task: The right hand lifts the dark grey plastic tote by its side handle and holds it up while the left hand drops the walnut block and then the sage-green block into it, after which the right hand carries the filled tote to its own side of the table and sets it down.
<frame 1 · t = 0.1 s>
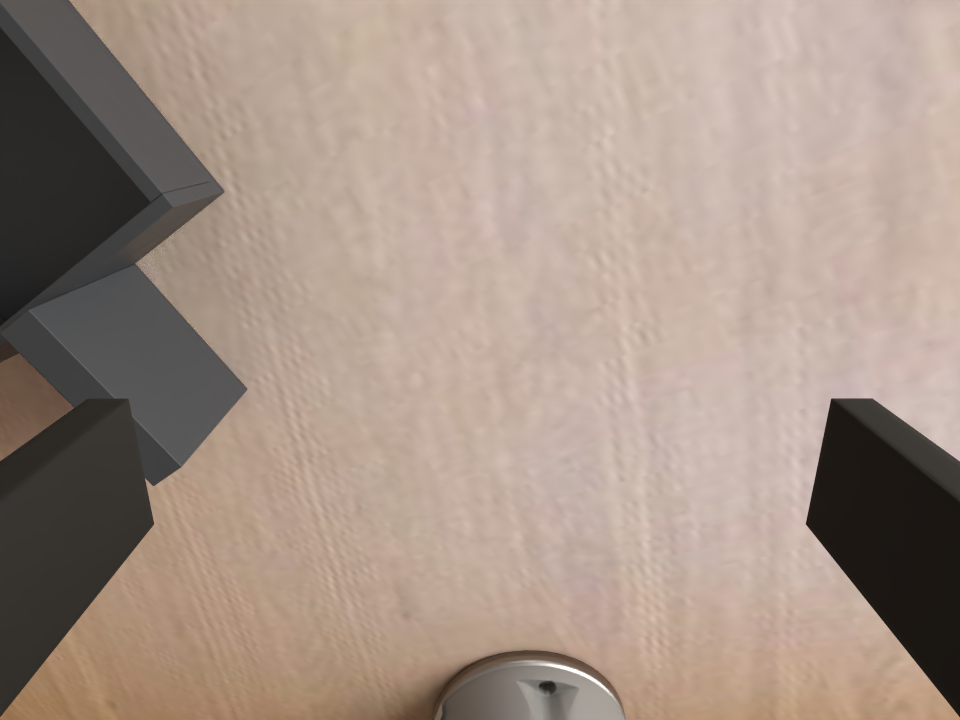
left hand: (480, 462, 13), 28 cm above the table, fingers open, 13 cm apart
tote: (16, 155, 37), on the table
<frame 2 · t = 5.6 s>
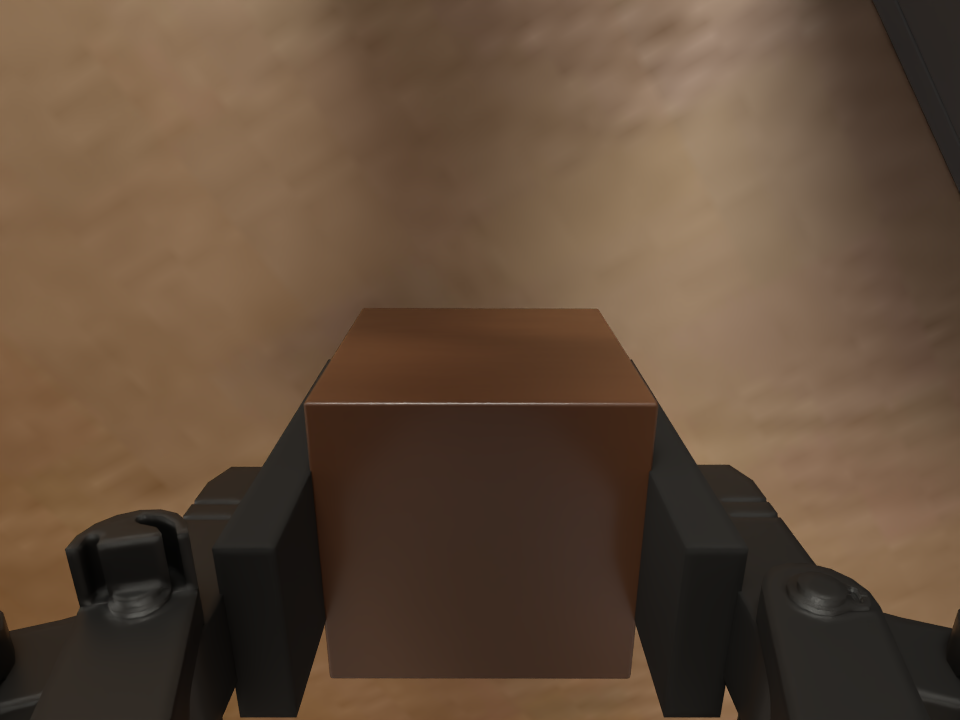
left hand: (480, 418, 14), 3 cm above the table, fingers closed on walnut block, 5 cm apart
walnut block: (480, 415, 15), point 3 cm above the table, touching left hand
when the left hand's fingers open (22 cm above the table, at t = 9.5 s): walnut block drops 8 cm and tips over, resting on tote.
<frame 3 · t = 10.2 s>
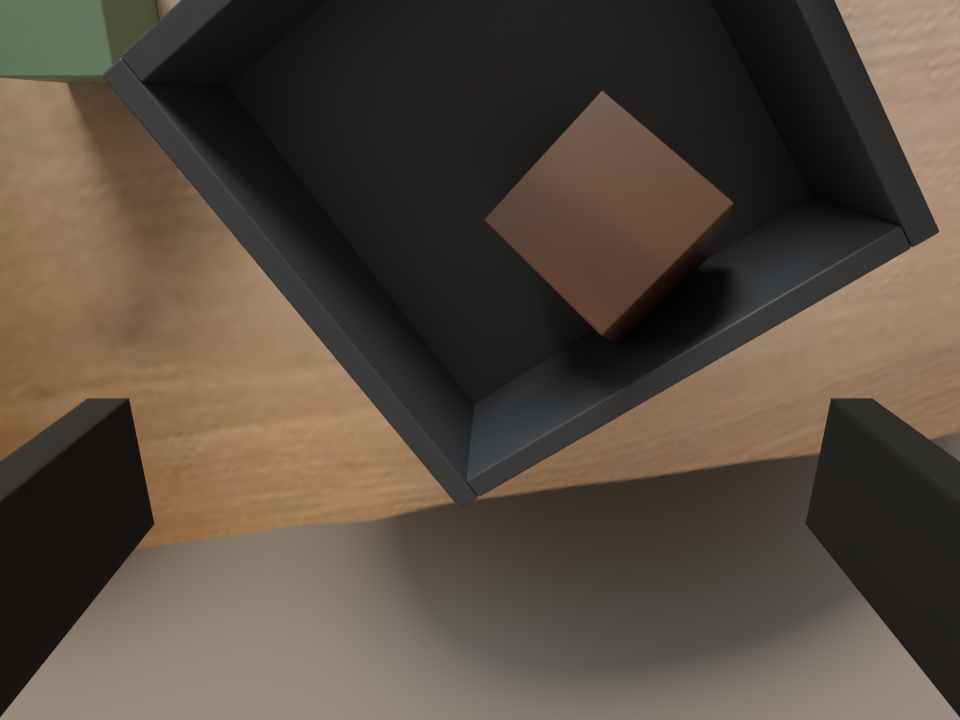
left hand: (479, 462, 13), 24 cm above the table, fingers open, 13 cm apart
walnut block: (556, 288, 22), point 14 cm above the table, tilted 94°, touching tote
green block: (107, 25, 31), on the table
tote: (522, 139, 24), point 9 cm above the table, touching right hand, walnut block
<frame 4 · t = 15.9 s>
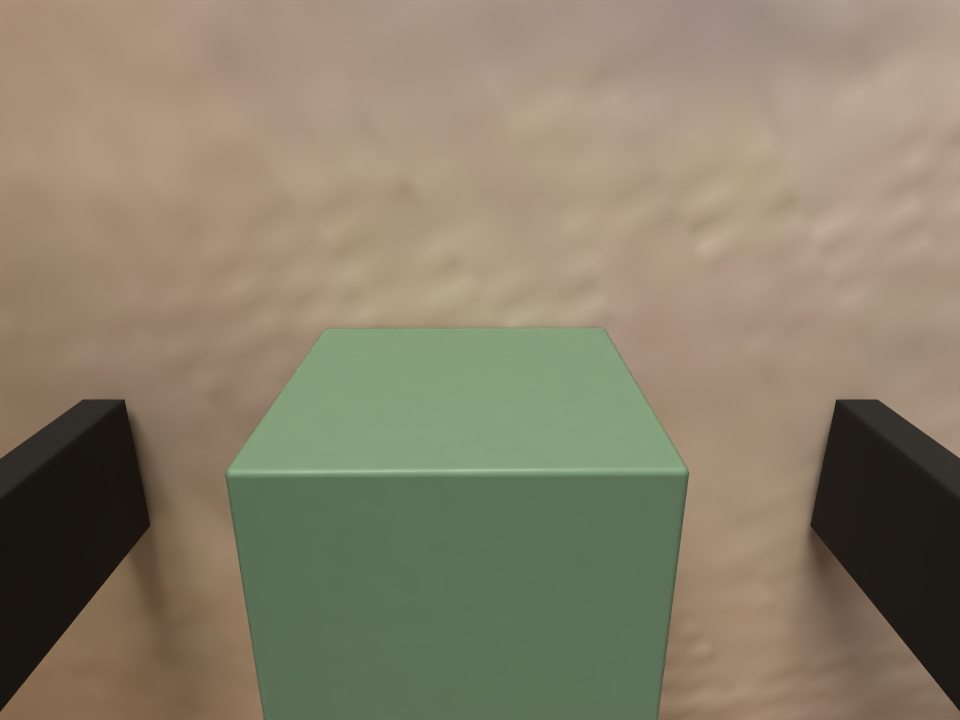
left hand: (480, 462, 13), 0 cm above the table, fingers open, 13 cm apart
green block: (465, 451, 13), on the table
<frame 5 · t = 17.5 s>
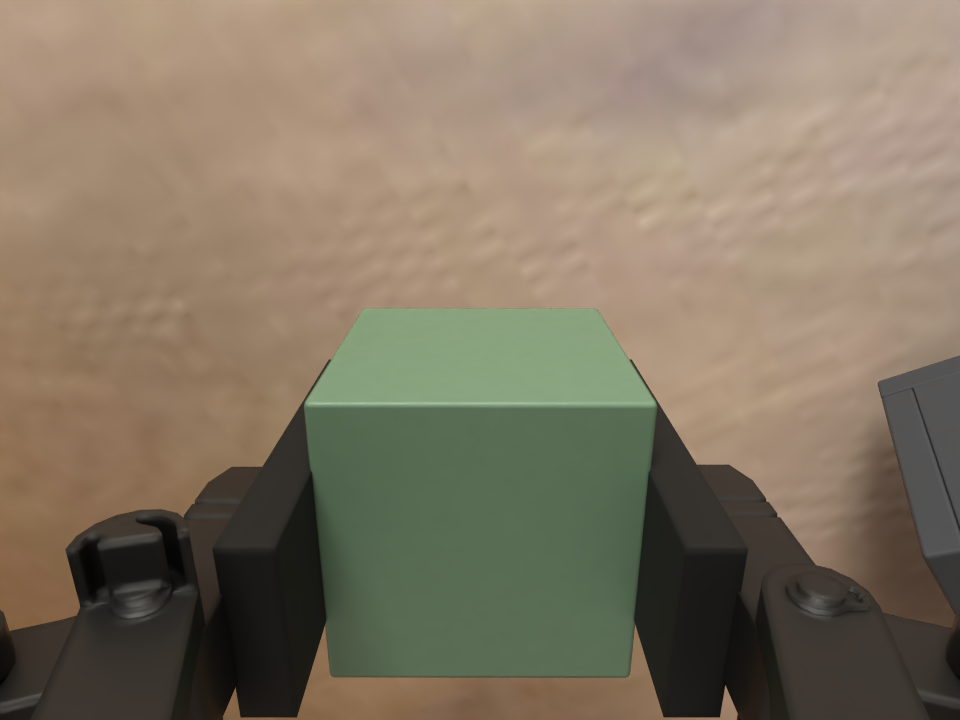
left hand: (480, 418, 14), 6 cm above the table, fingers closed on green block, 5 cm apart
green block: (480, 415, 15), point 5 cm above the table, touching left hand
when the left hand's fingers open (22 cm above the table, at t = 20.7 s): green block drops 17 cm and tips over, resting on tote.
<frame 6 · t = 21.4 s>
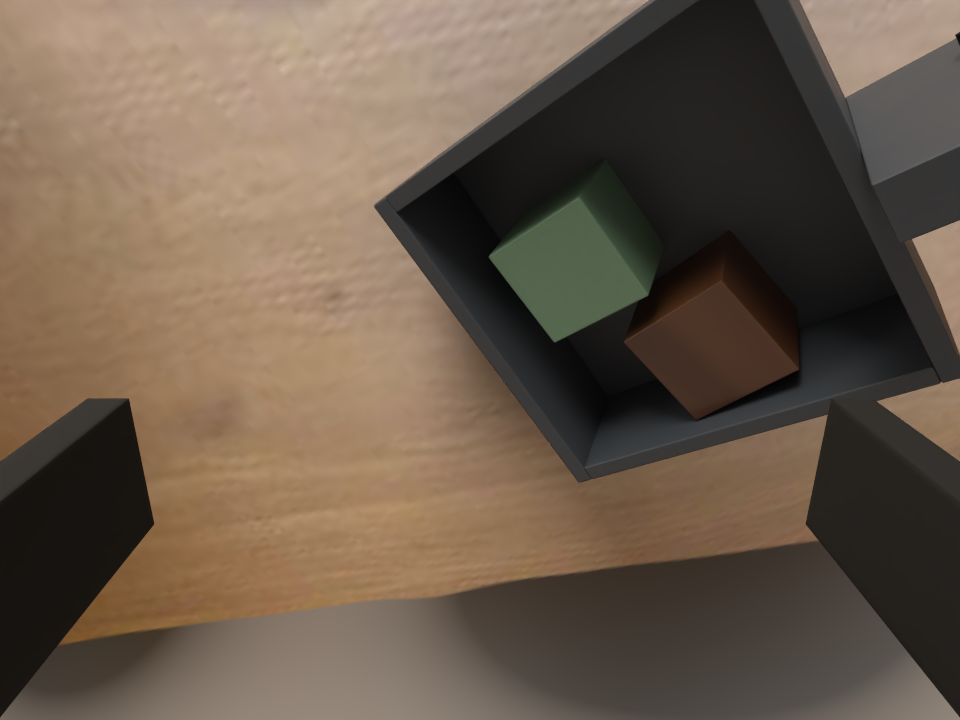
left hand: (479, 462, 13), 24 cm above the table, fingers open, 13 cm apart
walnut block: (667, 351, 31), point 6 cm above the table, tilted 65°, touching tote
green block: (537, 276, 31), point 4 cm above the table, tilted 65°, touching tote
tote: (665, 217, 31), point 4 cm above the table, tilted 25°, touching green block, right hand, walnut block
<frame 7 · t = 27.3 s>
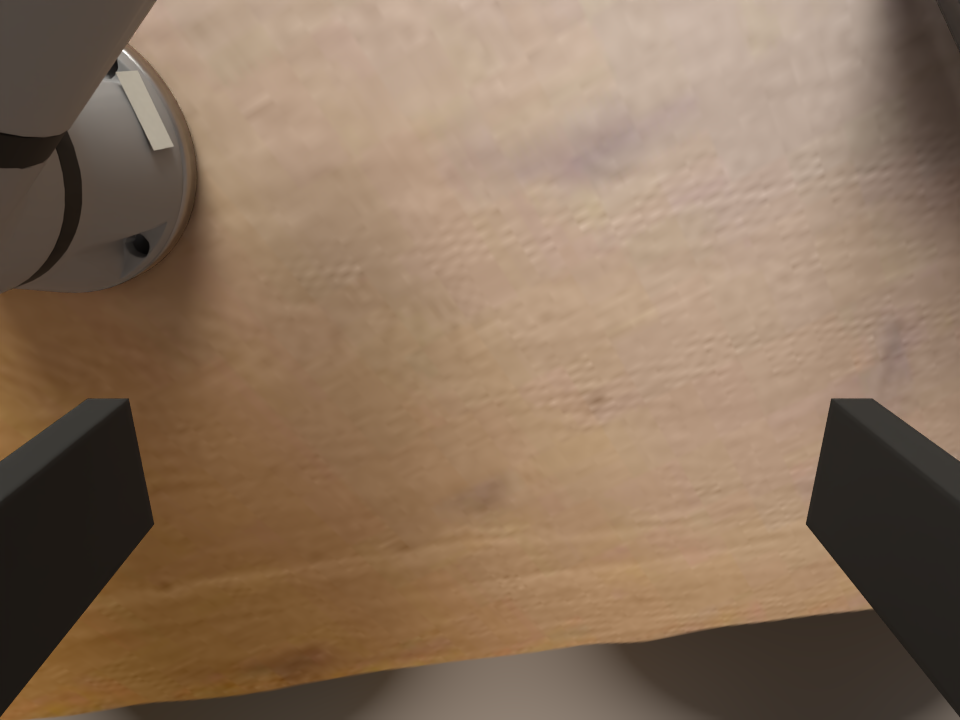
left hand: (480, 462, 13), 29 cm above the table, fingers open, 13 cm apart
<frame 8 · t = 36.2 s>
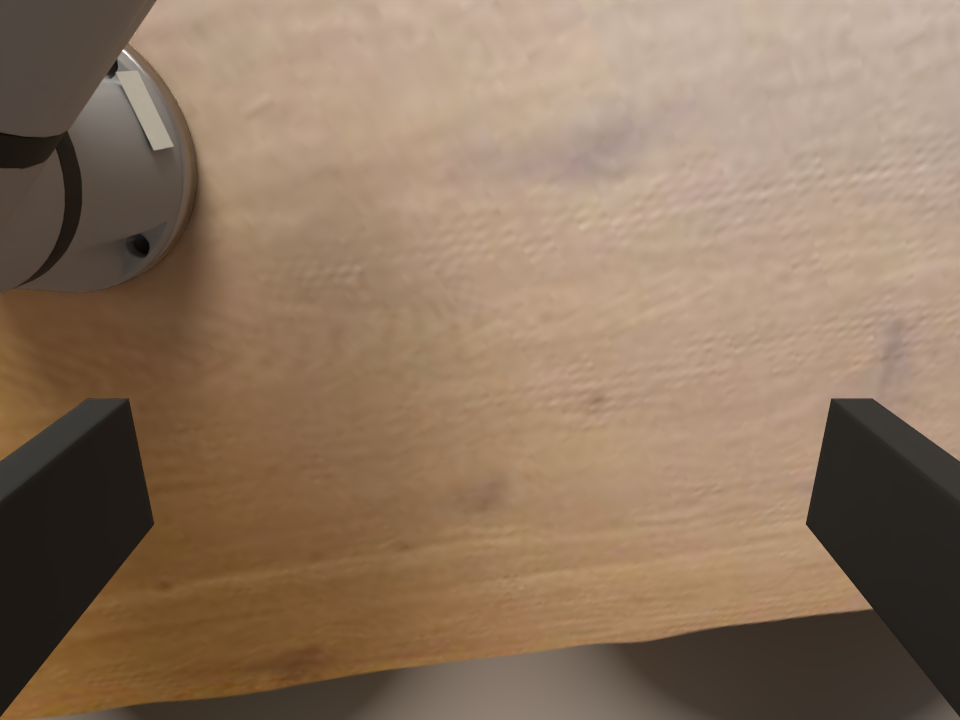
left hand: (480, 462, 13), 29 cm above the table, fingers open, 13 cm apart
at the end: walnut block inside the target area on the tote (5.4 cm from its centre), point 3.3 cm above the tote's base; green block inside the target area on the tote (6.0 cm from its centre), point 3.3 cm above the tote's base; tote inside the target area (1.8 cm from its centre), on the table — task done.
